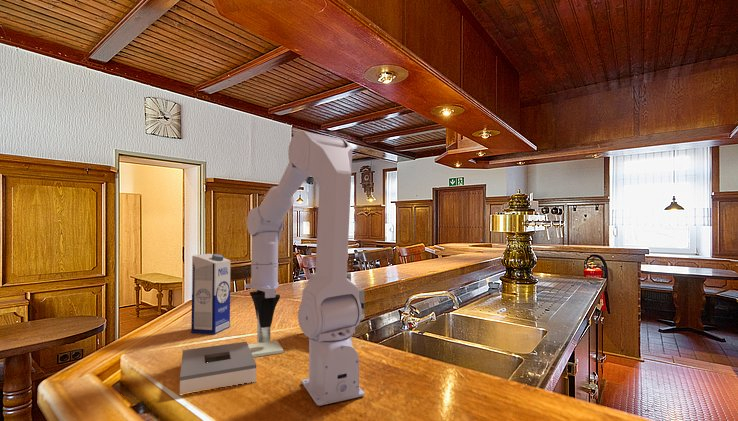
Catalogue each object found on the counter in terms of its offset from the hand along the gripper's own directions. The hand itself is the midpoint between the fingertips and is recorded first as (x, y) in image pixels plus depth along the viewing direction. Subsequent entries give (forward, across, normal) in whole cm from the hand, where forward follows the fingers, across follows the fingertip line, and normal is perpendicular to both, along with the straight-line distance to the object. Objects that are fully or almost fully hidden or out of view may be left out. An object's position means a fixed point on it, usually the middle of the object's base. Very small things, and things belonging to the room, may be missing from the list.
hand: (264, 325), depth 81 cm
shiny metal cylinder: (+3, 0, 0) cm, 3 cm away
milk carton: (+6, -22, -10) cm, 25 cm away
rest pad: (+6, 0, 0) cm, 6 cm away
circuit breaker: (+6, -4, +19) cm, 20 cm away
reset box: (+6, +9, -10) cm, 15 cm away
